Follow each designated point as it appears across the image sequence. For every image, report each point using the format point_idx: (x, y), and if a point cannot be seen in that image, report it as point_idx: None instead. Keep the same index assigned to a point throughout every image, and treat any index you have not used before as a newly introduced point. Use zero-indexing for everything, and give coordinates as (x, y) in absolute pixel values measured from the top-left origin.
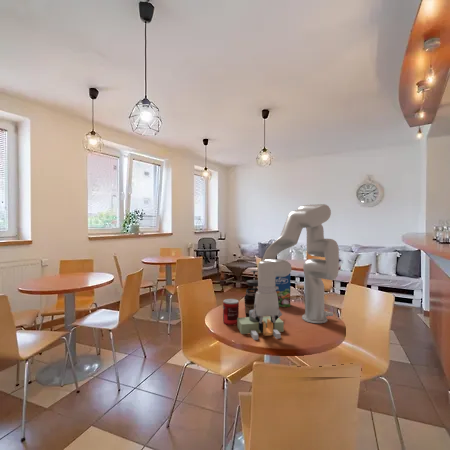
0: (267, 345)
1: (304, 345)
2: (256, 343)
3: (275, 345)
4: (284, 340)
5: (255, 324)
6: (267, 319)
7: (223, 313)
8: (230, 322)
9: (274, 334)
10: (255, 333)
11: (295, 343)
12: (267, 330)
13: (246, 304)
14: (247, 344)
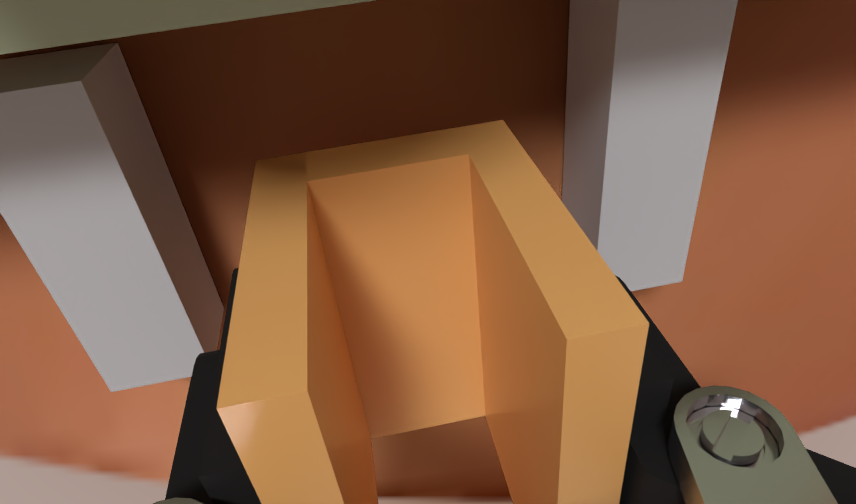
0: None
1: (815, 395)
2: None
3: (469, 435)
4: (659, 296)
5: (36, 35)
6: (560, 374)
7: None
8: None
9: (579, 178)
10: (137, 313)
11: (750, 363)
12: (435, 318)
13: None
14: (47, 461)
